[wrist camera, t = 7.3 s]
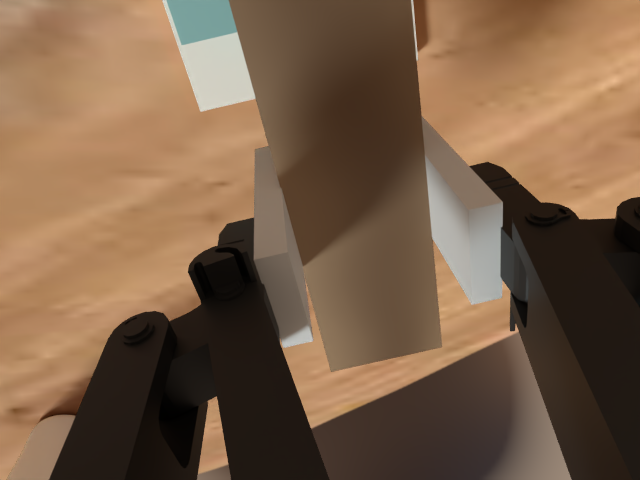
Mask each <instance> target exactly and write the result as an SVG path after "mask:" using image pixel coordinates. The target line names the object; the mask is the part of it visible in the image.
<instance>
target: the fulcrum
mask: <svg viewBox="0 0 640 480" xmlns="http://www.w3.org/2000/svg"><path fill="white" fill-rule="evenodd" d="M162 1H163V4H164V7H165V9H166V12H167V15H168V18H169V21H170V24H171V27H172V30H173V33H174V36H175V39H176V41H177V44H178V47H179V50H180V53H181V56H182V59H183V62H184V65H185V68H186V71H187V73H188V76H189V79H190V82H191V85H192V88H193V91H194V94H195V97H196V100H197V103H198V106H199V108H200V111H205V110H210V109H214V108H218V107H222V106H227V105H231V104H235V103H239V102H243V101H248V100H252V99H256V98H255V94H254V91H253V87H252V83H251V80H250V76H249V72H248V69H247V65H246V62H245V58H244V54H243V51H242V47H241V43H240V40H239V36H238V33H237V29H236V25H235V22H234V18H233V14H232V11H231V7H230V4H229V0H162ZM411 4H412V16H413V27H414V38H415V49H416V60H418V53H417V41H416V29H415V17H414V5H413V0H411Z"/></svg>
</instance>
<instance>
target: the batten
mask: <svg viewBox="0 0 640 480" xmlns="http://www.w3.org/2000/svg"><path fill="white" fill-rule="evenodd" d="M229 4H230V7H231V11H232V14H233V18H234V22H235V25H236V29H237V33H238V36H239V40H240V43H241V47H242V51H243V54H244V58H245V62H246V65H247V69H248V72H249V76H250V80H251V83H252V87H253V91H254V94H255V98H256V101H257V105H258V109H259V112H260V116H261V120H262V123H263V127H264V130H265V134H266V138H267V141H268V145H269V149H270V152H271V156H272V159H273V163H274V167H275V170H276V174H277V178H278V181H279V185H280V188H282V192H283V195H284V199H285V203H286V206H287V210H288V214H289V217H290V221H291V225H292V228H293V232H294V236H295V239H296V243H297V247H298V250H299V254H300V258H301V261H302V265H303V271H304V275H305V279H306V283H307V286H308V290H309V293H310V297H311V301H312V304H313V308H314V312H315V315H316V319H317V322H318V326H319V330H320V333H321V337H322V341H323V344H324V348H325V351H326V355H327V359H328V362H329V366H330V370H331V372H333V371H338V370H342V369H347V368H351V367H356V366H360V365H364V364H369V363H373V362H378V361H382V360H387V359H391V358H396V357H400V356H405V355H409V354H414V353H418V352H423V351H427V350H432V349H436V348H441V347H442V341H441V329H440V318H439V307H438V296H437V284H436V273H435V262H434V251H433V240H432V230H431V219H430V207H429V196H428V185H427V173H426V162H425V150H424V139H423V128H422V116H421V105H420V94H419V83H418V72H417V60H416V49H415V38H414V27H413V16H412V4H411V0H229Z"/></svg>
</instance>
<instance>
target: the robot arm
mask: <svg viewBox="0 0 640 480" xmlns="http://www.w3.org/2000/svg"><path fill="white" fill-rule="evenodd" d="M422 128H423V139H424V150H425V162H426V173H427V185H428V196H429V207H430V219H431V230H432V238H433V240H434V241H435V243H436V245H437V247H438V248H439V250H440V252H441V253H442V255H443V257H444V258H445V260H446V262H447V263H448V265H449V267H450V269H451V270H452V272H453V274H454V275H455V277H456V279H457V280H458V282H459V284H460V285H461V287H462V289H463V291H464V292H465V294H466V296H467V297H468V299H469V301H470V302H471V304H472V305H473V304H477V303H481V302H486V301H490V300H495V299H499V298H502V280H503V281H504V282H505V284H506V285H507V287H508V288H509V289H510V291H511V296H510V331H515V324H517V327H518V330H519V333H520V336H521V338H522V341H523V344H524V347H525V350H526V353H527V355H528V358H529V361H530V363H531V367H532V369H533V372H534V375H535V378H536V380H537V383H538V386H539V389H540V392H541V395H542V397H543V400H544V403H545V406H546V409H547V412H548V414H549V417H550V420H551V423H552V425H553V428H554V431H555V434H556V437H557V440H558V443H559V445H560V448H561V451H562V454H563V456H564V459H565V462H566V465H567V468H568V471H569V473H570V476H571V479H572V480H640V197H637V198H631V199H628V200H626V201H623V202H622V203H621V204H620V205H619V206H618V207H617V212H616V218H615V219H590V220H588V219H579V218H578V217H577V215H576V214H575V213H574V212H573V211H572V210H571V209H569V208H567V207H565V206H562V205H560V204H554V203H541V202H539V201H538V200H537V199H536V198H535V197H534V196H533V195H532V194H531V193H530V192H529V191H528V190H526V189H525V188H524V187H523V186H522V185H521V184H519V182H518V181H517V180H516V179H514V178H512V176H511V175H510V174H509V173H508V172H507V171H506V170H505V169H504V168H502V167H500V166H497V165H494V164H492V163H489V162H485V163H481V164H477V165H472V166H468V165H467V164H466V162H465V161H464V160H463V159H462V158H461V157H460V156H459V155H458V154H457V153H456V152H455V151H454V150H453V149H452V148H451V147H450V146H449V144H448V143H447V142H446V141H445V140H444V139H443V138H442V137H441V136H440V135H439V134H438V133H437V132H436V131H435V130H434V129H433V127H432V126H431V125H430V124H429V123H428V122H427V121H426V120H425V119H424V118H423V117H422ZM188 273H189V275H190V278H191V280H192V282H193V284H194V287H195V289H196V291H197V293H198V296H199V298H200V300H201V305H200V306H198V307H197V308H196V309H194V310H192V311H191V312H189V313H187V314H185V315H183V316H181V317H178V318H176V319H174V320H172V321H170V322H169V320H168V318H167V317H166V316H165V315H164V314H163V313H160V312H156V311H152V312H144V313H141V314H138V315H135V316H133V317H130V318H129V319H127V320H125V321H124V322H122V323H121V324H120V325H119V326H118V327H117V328H116V329H114V331H113V332H112V334H111V335H110V337H109V338H108V341H107V343H106V345H105V348H104V350H103V352H102V355H101V357H100V360H99V362H98V364H97V367H96V369H95V371H94V374H93V376H92V378H91V381H90V383H89V386H88V388H87V390H86V393H85V395H84V397H83V400H82V402H81V405H80V407H79V409H78V412H77V414H76V416H75V419H74V421H73V424H72V426H71V428H70V431H69V433H68V435H67V438H66V440H65V443H64V445H63V447H62V450H61V452H60V454H59V457H58V459H57V461H56V464H55V466H54V469H53V471H52V473H51V476H50V478H49V480H197V475H198V468H199V462H200V455H201V448H202V441H203V435H204V428H205V421H206V415H207V408H208V400H210V399H212V398H214V397H216V396H217V399H218V405H219V411H220V417H221V422H222V428H223V434H224V440H225V446H226V452H227V457H228V463H229V469H230V474H231V480H329V477H328V475H327V472H326V469H325V466H324V463H323V461H322V458H321V455H320V452H319V450H318V447H317V444H316V442H315V439H314V436H313V433H312V430H311V428H310V425H309V422H308V419H307V417H306V414H305V411H304V408H303V406H302V403H301V400H300V397H299V395H298V392H297V389H296V386H295V384H294V381H293V378H292V375H291V373H290V370H289V367H288V364H287V362H286V359H285V356H284V353H283V351H282V348H281V345H280V339H281V342H282V344H283V347H284V348H285V347H289V346H294V345H298V344H302V343H307V342H311V341H313V334H312V327H311V320H310V313H309V306H308V299H307V292H306V285H305V278H304V271H303V265H302V261H301V258H300V254H299V250H298V247H297V243H296V239H295V236H294V232H293V228H292V225H291V221H290V217H289V214H288V210H287V206H286V203H285V199H284V195H283V192H282V188H280V185H279V181H278V178H277V174H276V170H275V167H274V163H273V159H272V156H271V152H270V149H269V146H267V147H263V148H258V149H255V187H254V218H250V219H246V220H242V221H237V222H233V223H229V224H227V225H226V226H225V228H224V229H223V230H222V232H221V233H220V234H219V240H218V246H215V247H212V248H210V249H208V250H206V251H203V252H202V253H201V254H199V255H198V256H197V257H195V258H194V259H193V261H192V262H191V263H190V265H189V269H188Z"/></svg>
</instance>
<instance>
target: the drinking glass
mask: <svg viewBox="0 0 640 480" xmlns="http://www.w3.org/2000/svg"><path fill="white" fill-rule="evenodd" d="M74 419H75V415H55V416H51V417H48V418H46V419H44V420H42V421H40V422H39V423H38V424H37V425H36V426H35V427H34V428H33V430H32V431H31V433H30V435H29V437H28V440H27V442H26V444H25V446H24V448H23V450H22V452H21V454H20V456H19V458H18V459H17V461H16V463H15V465H14V466H13V468H12V470H11V472H10V474H9V475H8V477H7V479H6V480H49V478H50V476H51V473H52V471H53V469H54V466H55V464H56V461H57V459H58V457H59V454H60V452H61V450H62V447H63V445H64V443H65V440H66V438H67V435H68V433H69V431H70V428H71V426H72V424H73V421H74Z"/></svg>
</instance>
